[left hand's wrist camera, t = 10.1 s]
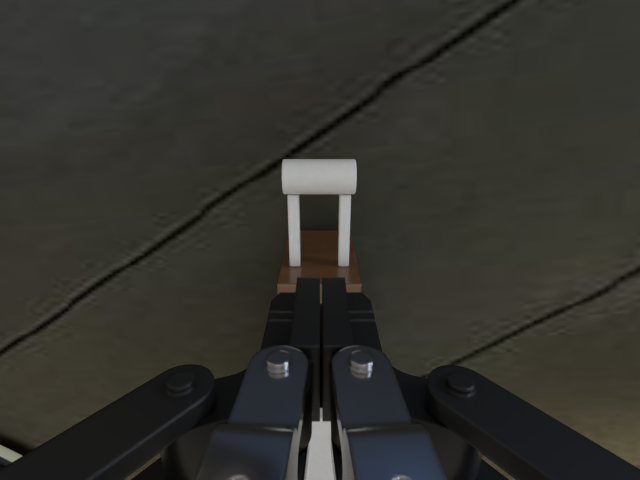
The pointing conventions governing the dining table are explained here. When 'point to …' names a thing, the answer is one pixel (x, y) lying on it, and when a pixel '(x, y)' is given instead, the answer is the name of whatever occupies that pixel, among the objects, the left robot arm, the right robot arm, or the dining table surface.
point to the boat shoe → (7, 456)
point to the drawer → (319, 245)
